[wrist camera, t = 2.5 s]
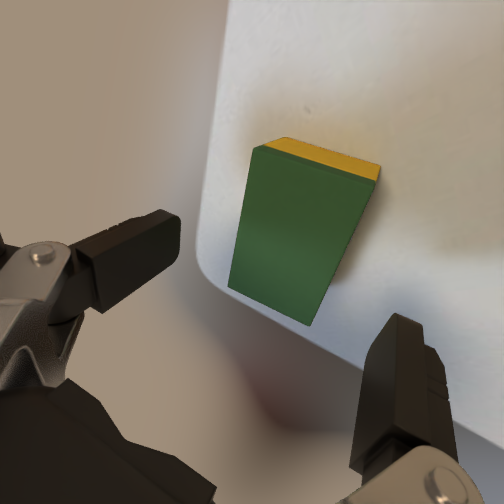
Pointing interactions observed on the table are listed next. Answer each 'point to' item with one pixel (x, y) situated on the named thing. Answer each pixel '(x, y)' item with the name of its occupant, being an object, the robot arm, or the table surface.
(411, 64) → the table surface
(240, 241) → the sponge
